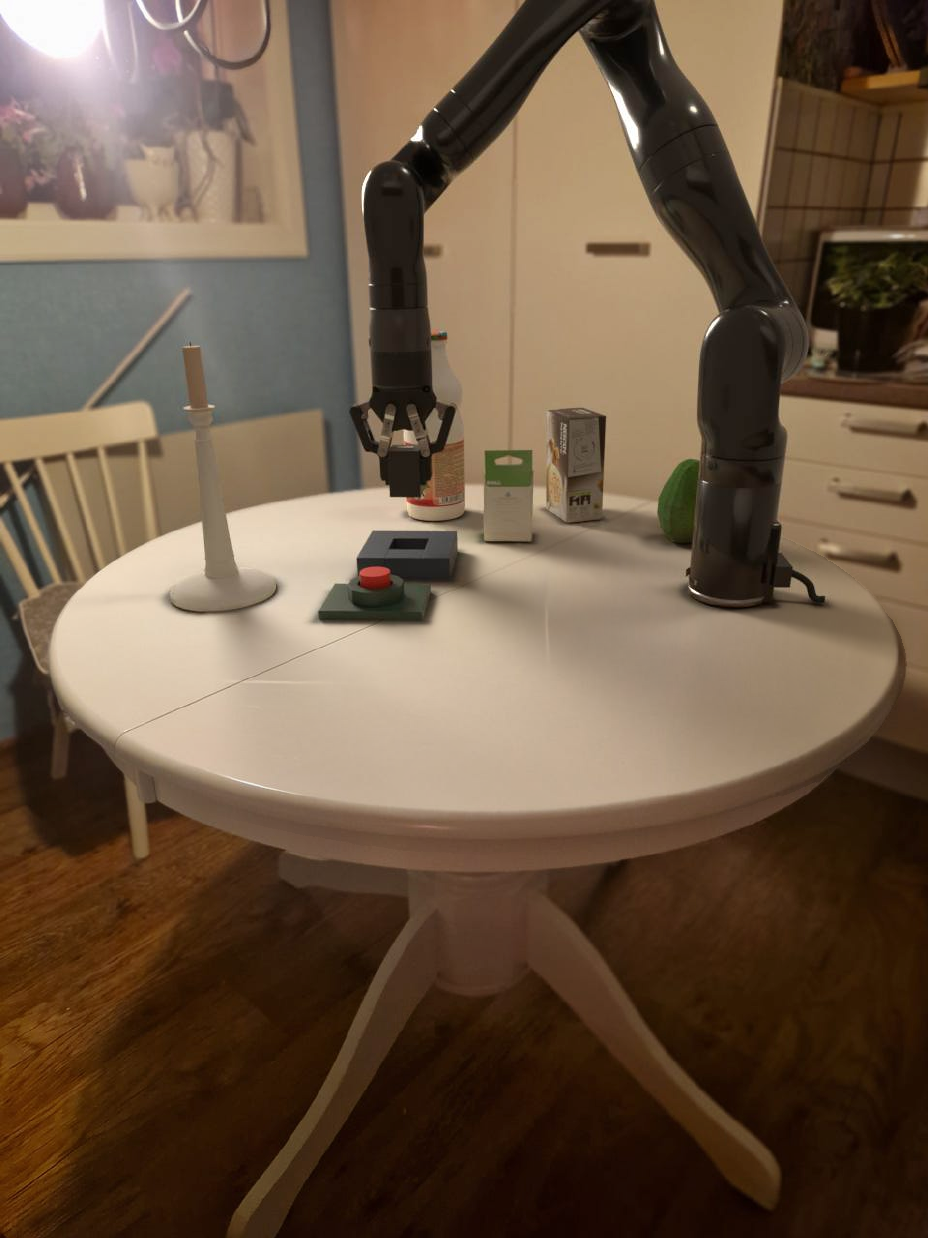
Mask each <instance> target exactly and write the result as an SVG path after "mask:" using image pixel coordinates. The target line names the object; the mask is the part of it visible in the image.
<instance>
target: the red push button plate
mask: <svg viewBox="0 0 928 1238" xmlns="http://www.w3.org/2000/svg"><path fill="white" fill-rule="evenodd" d="M390 576H391V586H389V587H387V588H381V589H365V588H361V587H360V576H358V575H357V576H356V577H354V578H351V579H350V580H349V581H348V582H347V583H334V584H333V585H332V587H331V589H330V591H329V592H328V594H327V595H326V597H325V599H324V600H323V602H322V604H321V605H320V607H319V608H318V610H317V611H318V613H317V614H318V620H320V621H321V620H324V621H325V620H326V621H329V620H330V621H399V622H400V621H405V622H408V621H409V622H410V621H412V622H413V621H414V622H423V620H424V617H425V613H426V611H427V607H428V604H429V600H430V598H431V594H432V587H431V586H432V584H430V583H427V584H425V583H424V584H423V583H405V580H402V579H401V578H400V577H399V576H395V575H391V574H390Z"/></svg>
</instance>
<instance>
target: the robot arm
mask: <svg viewBox="0 0 928 1238" xmlns="http://www.w3.org/2000/svg"><path fill="white" fill-rule="evenodd" d="M577 33H578V34H579V35H580V37H581V39H582V41H583V42H584V44H585V46H586V49H588V52H589V53H590V54H591V57H592V58H593V60H594V62H595V64H596V66H597V68H598V70H599V71H600V73H601V75H602V77H603V79H604V81H605V83H606V85H607V87H608V89H609V91H610V94H611V96H612V99H613V101H614V105H615V107H616V112H617V116H618V119H619V123H620V126H621V129H622V132H623V136H624V138H625V142H626V146H627V148H628V151H629V153H630V156H631V159H632V162H633V164H634V167H635V170H636V173H637V176H638V177H639V180H640V183H641V185H642V187H643V190H644V192H645V195H646V197H647V200H648V202H649V205H650V207H651V209H652V210H653V213H654V215H655V216H656V218H657V220H658V222H659V223H660V224H661V226H662V227H663V229H664V230H665V231H666V233H667V234H668V235H669V237H670V238H671V239H672V240H673V242H674V243H675V244H676V245H677V247H678V248H679V249H680V250H681V252H682V253H683V254H684V255H685V256H686V257H687V259H688V260H689V261H690V262H691V263H692V265H693V266H694V267H695V269H696V270H697V271H698V272H699V274H700V275H701V277H702V279H703V280H704V282H705V283H706V285H707V287H708V290H709V291H710V294H711V296H712V298H713V301H714V304H715V306H716V308H717V312H718V314H716V316H715V317H714V318H713V320H712V321H711V322H710V324H708V326H707V329H706V331H705V332H704V335H703V338H702V342H701V347H700V350H699V352H700V353H699V359H698V374H697V375H698V376H697V379H698V380H697V395H696V396H697V399H696V423H697V428H698V431H699V434H700V453H699V455H700V456H699V460H700V464H699V475H698V486H697V497H696V508H695V519H694V530H693V542H691V554H690V565H689V567H687V568H685V577H688V581H687V589H686V591H687V593H688V595H689V596H690V597H691V598H693V599H695V600H697V601H699V602H702V603H704V604H707V605H712V606H716V607H723V608H724V607H725V608H748V607H753V606H758V605H761V604H772V603H773V598H774V590H775V589H776V588H777V589H780V588H781V589H788V588H791V583H792V579H795V580H796V581H799V582H800V583H802V584H803V585H804V586H805V587H806V591H807V595H808V597H809V599H810V601H812V602H813V603H816V604H825V602H826V595H817V593H816V587H815V585H814V583H813V582H812V580H811V579H810V578H809V577H807V576H806V575H805V574H804V573H801V572H799V571H797V570H795V569H794V566H793V565H792V564H791V562H790V561H789V560H788V559H787V557H785V555H784V554H783V553H782V552H780V547H781V546H780V545H781V537H782V529H783V527H782V524H781V523H780V522H779V520H778V517H779V516H778V515H779V508H780V501H781V491H782V485H783V477H784V468H785V461H786V454H787V453H786V452H787V445H788V438H789V437H788V436H789V435H788V430H787V429H786V427H785V426H784V425H782V423H781V419H780V401H781V400H780V399H781V391H782V384H784V383H786V382H788V381H790V380H791V379H792V378H794V377H795V376H796V375H797V374H798V373H799V372H800V370H801V369H802V368H803V366H804V364H805V362H806V359H807V356H808V353H809V347H810V343H809V342H810V340H809V339H810V337H809V331H808V330H809V329H808V326H807V324H806V320H805V318H804V316H803V314H802V312H801V310H800V309H799V307H798V305H797V303H796V301H795V299H794V298H793V296H792V294H791V292H790V290H789V289H788V288H787V286H786V284H785V282H784V281H783V278H782V276H781V275H780V273H779V271H778V270H777V267H776V266H775V263H774V261H773V259H772V257H771V256H770V254H769V251H768V249H767V247H766V245H765V243H764V240H763V237H762V235H761V232H760V229H759V227H758V224H757V221H756V218H755V216H754V213H753V210H752V208H751V205H750V203H749V200H748V198H747V196H746V192H745V190H744V188H743V186H742V183H741V180H740V178H739V175H738V173H737V170H736V167H735V164H734V162H733V161H734V160H733V158H732V155H731V153H730V151H729V148H728V146H727V143H726V141H725V138H724V136H723V133H722V131H721V129H720V127H719V124H718V122H717V120H716V118H715V115H714V114H713V112H712V110H711V107H710V106H709V105H708V104H707V102H706V101H705V99H704V97H703V96H702V95H701V94H700V92H699V91H698V90H697V87H695V85H693V83H692V82H691V81H690V80H689V79H688V77H687V76H686V75H685V73H684V72H683V71H682V70H681V68H680V67H679V65H678V63H677V61H676V60H675V58H674V56H673V54H672V51H671V48H670V46H669V44H668V41H667V37H666V34H665V32H664V29H663V26H662V23H661V20H660V16H659V12H658V8H657V5H656V1H655V0H523V2H522V3H521V5H520V7H519V8H518V9H517V11H515V13H514V15H513V16H512V17H511V18H510V20H509V21H508V22H507V23H506V25H505V26H504V28H503V29H502V30H501V32H500V33H499V34H498V35H497V36H496V38H495V39H494V41H493V42H492V43H491V44H490V45H489V46H488V48H487V49H486V50H485V51H484V53H483V54H482V55H481V56H480V57H479V58H478V59H477V61H476V62H475V63H474V64H473V65H472V66H471V67H470V68H469V69H468V71H467V72H466V73H465V74H464V75H463V76H462V77H461V79H459V80H458V82H456V83H455V84H454V85H453V86H452V88H451V89H450V90H449V91H448V92H447V93H446V94H445V95H444V96H443V97H442V98H441V99H440V100H439V101H438V102H437V103H436V104H435V106H433V108H432V109H431V110H430V111H429V112H428V113H427V114H426V116H425V117H424V118H423V119H422V121H421V122H420V124H419V126H418V127H417V130H416V132H415V133H414V135H413V136H412V137H411V138H410V139H409V140H408V141H407V142H406V143H405V144H404V145H403V146H402V147H401V148H400V149H399V150H398V151H397V152H396V153H395V154H394V155H393V156H392V157H391V159H389V160H386V161H382V162H379V163H378V164H376V165H375V166H374V167H372V168H371V169H370V171H369V172H368V173H367V175H366V176H365V178H364V181H363V184H362V189H361V206H362V218H363V219H362V220H363V225H364V226H363V228H364V235H365V242H366V250H367V256H368V277H367V278H368V279H367V280H368V282H367V283H368V296H369V297H368V298H369V321H368V347H369V353H370V372H371V373H370V374H371V388H372V389H371V394H370V395H369V399H368V400H367V401H364V402H361V403H355V404H353V405H352V406H350V408H349V411H348V413H349V415H350V418H351V420H352V422H353V425H354V428H355V430H356V433H357V435H358V438H359V440H360V443H361V445H362V448H363V450H364V451H365V452H366V453H373V454H375V455H377V456H378V461H379V476H380V477H379V478H380V480H381V481H382V482H385V483H384V484H385V486H389V470H388V450H389V449H390V447H391V446H392V441H393V437H394V434H395V432H399V431H401V430H403V431H404V430H408V431H413V432H414V435H415V438H416V440H417V442H418V446H419V449H420V452H421V457H420V470H421V485H427V483H428V481H430V480H431V477H432V475H433V473H432V455H433V454H434V453H437V452H441V451H443V449H444V447H445V445H446V442H447V439H448V436H449V432H450V429H451V426H452V423H453V420H454V416H455V413H456V410H457V406H456V404H454V403H450V404H447V403H444V402H442V401H439V400H437V397H436V395H435V394H434V392H433V386H432V352H431V331H432V328H431V326H432V325H431V319H430V313H429V307H428V306H429V294H428V291H429V289H428V274H427V266H426V262H425V256H424V252H425V251H424V250H425V214H426V213H427V212H428V211H429V210H430V209H431V208H432V206H433V205H434V204H435V203H436V202H437V200H438V199H440V197H441V196H442V194H443V193H444V192H445V191H446V190H447V189H448V188H449V186H451V184H452V182H453V181H455V179H457V178H458V177H459V176H460V175H461V174H463V173H464V172H465V171H467V169H469V168H470V167H471V166H472V165H473V164H474V163H475V162H476V161H477V160H478V159H479V158H480V157H481V156H482V155H483V154H484V153H485V152H486V151H487V150H488V149H489V148H490V147H491V146H492V144H494V143H495V142H496V140H498V139H499V138H500V137H501V135H502V134H503V133H504V132H505V130H506V129H507V128H508V127H509V126H510V124H511V123H512V122H513V120H514V119H515V117H516V116H517V115H518V113H519V112H520V110H521V108H522V107H523V105H524V104H525V102H526V101H527V99H528V97H529V96H530V94H531V92H532V91H533V89H534V88H535V86H536V84H537V83H538V81H539V80H540V78H541V77H542V75H543V73H544V72H545V71H546V69H547V67H548V66H549V65H550V64H551V62H552V61H553V60H554V58H555V57H556V56H557V54H558V53H560V51H561V50H562V48H563V47H564V46H565V45H566V44H567V43H568V42H569V41H570V40H571V39H572V38H573V37H574V36H575V34H577ZM434 408H435V409H437V411H438V418H439V419H440V420H442V424H441V427H440V430H439V434H438V437H437V440H436V441H434V442H432V443H431V442H430V439H429V435H428V430H427V427H426V423H425V421H426V420H427V418H428V417H429V415H430V414H431V412H432V411H433V409H434ZM371 410H372V411H373V412H374V414H375V415H376V417H377V418H378V419H379V421H380V422H381V423H382V428H381V432H380V436H379V437H380V438H379V441H377V440H375V439H376V438H375V436H374V434H373V431H372V430H371V426H370V423H369V421H368V419H370V416H371Z"/></svg>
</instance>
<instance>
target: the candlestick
mask: <svg viewBox="0 0 928 1238" xmlns="http://www.w3.org/2000/svg"><path fill="white" fill-rule="evenodd" d="M181 350H182V359H183V366H184V371H185V373H184V374H185V380H186V387H187V395H188V401H189V405H187V406H183V408H182V409H183V410H184V411H186V413H187V414H188V416H189V417H188V422H189V424H191V426H193V429H194V431H195V438H194V440H193V441H194V444H195V445H194V446H195V455H196V456H195V457H196V467H197V478H198V479H197V481H198V492H199V503H200V516H201V525H202V526H201V527H202V537H203V539H202V540H203V550H204V561H205V563H204V564H205V565H204V569H203V570H200V571H196V572H195V573H192V574H189V575H187V576H186V577H184V578H182V579H181V580H180V581H179V582H177V583H176V584H175V585H174V586H173V587H172V589H171V590H170V593H169V596H170V601H171V603H172V605H174V606H175V607H177V608H179V609H182V610H187V611H191V612H201V613H202V612H204V613H206V612H223V611H230V610H236V609H242V608H245V607H249V606H252V605H257V604H259V603H261V602H263V601H265V600H266V599H269V598H270V597H271V596H273V595H274V593H275V592H276V591H277V583H276V580H275V579H274V578H273V576H271V575H270V574H268V573H266V572H264V571H262V570H260V569H256V568H252V567H247V566H238V565H237V563H236V560H235V554H234V550H233V544H232V539H231V538H232V537H231V533H230V528H229V523H228V517H227V511H226V506H225V501H224V495H223V490H222V484H221V479H220V474H219V468H218V463H217V457H216V452H215V446H214V438H213V436H211V432H210V430H211V424H212V423H213V420H214V418H213V416H212V412H213V410H214V409H215V408H216V405H213V404H209V402H208V394H207V387H206V386H207V385H206V379H205V371H204V364H203V357H202V350H201V345H192V342H191V341H190V342H189V345H186V346H182V347H181ZM173 593H174V594H173ZM177 597H178V598H177Z"/></svg>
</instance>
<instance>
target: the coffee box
mask: <svg viewBox="0 0 928 1238" xmlns="http://www.w3.org/2000/svg"><path fill="white" fill-rule="evenodd" d="M606 432H607V415H604V414H602V413H599V412H596V411H593V410H590V409H587V408H584V407H569V408H559V409H547V410H546V490H545V491H546V493H545V495H546V496H545V498H546V499H545V508H546V509H545V510H546V511H548V512H549V513H551V514H553V515H554V516H556V517H557V518H559V519H560V520H562V521H563V522H564V523H567V524H570V523H571V524H572V523H578V522H587V521H598V520H602V519H603V508H604V507H603V506H604V505H603V504H604V484H605V483H604V480H605V457H606V456H605V454H606V452H605V451H606Z"/></svg>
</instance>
